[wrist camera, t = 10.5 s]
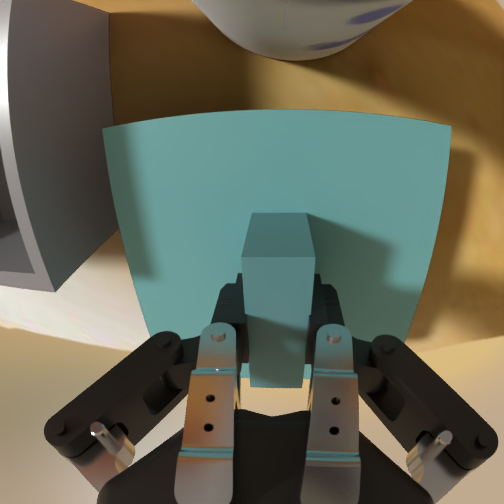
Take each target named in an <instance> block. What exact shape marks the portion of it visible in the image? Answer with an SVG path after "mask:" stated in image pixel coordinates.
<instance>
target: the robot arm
mask: <svg viewBox="0 0 504 504" xmlns="http://www.w3.org/2000/svg"><path fill="white" fill-rule="evenodd" d="M248 362H249V340H248V326H247V314H245V307H244V293H243V278H242V273H238V275H237V279H236V283H226V284H225V285H224V286H223V287H222V288H221V289H220V293H219V296H218V300H217V304H216V306H215V310H214V313H213V317H212V320H211V323H210V325H208V326H206V327H205V328H204V329H203V330H202V332H201V335H199V336H197V337H193V338H188V339H182V340H181V338H180V336H179V335H178V334H177V333H175V332H172V331H162V332H159V333H156V334H154V335H153V336H152V337H150V338H149V339H148V340H147V341H145V342H144V343H143V344H142V345H141V346H139V347H138V348H137V349H136V350H134V351H133V352H132V353H131V354H130V355H128V356H127V357H126V358H124V359H123V360H122V361H121V362H120V363H118V364H117V365H116V366H114V367H113V368H112V369H111V370H110V371H108V372H107V373H106V374H105V375H103V376H102V377H101V378H100V379H98V380H97V381H96V382H95V383H93V384H92V385H91V386H90V387H88V388H87V389H86V390H85V391H83V392H82V393H81V394H80V395H78V396H77V397H76V398H75V399H74V400H72V401H71V402H70V403H68V404H67V405H66V406H65V407H63V408H62V409H61V410H60V411H59V412H57V413H56V414H55V415H54V416H52V417H51V418H50V419H49V420H48V421H47V423H46V425H45V428H44V435H45V438H46V440H47V441H48V442H49V443H50V444H51V445H52V446H53V447H54V448H56V450H58V452H59V453H60V454H61V455H62V456H63V457H64V458H65V459H67V460H68V461H69V462H70V463H72V464H73V465H74V466H75V467H76V468H77V469H78V470H79V471H80V472H81V473H82V475H83V476H84V477H85V478H86V479H87V480H88V481H89V482H90V484H92V486H93V487H95V489H96V490H97V491H98V492H99V495H98V498H97V504H435V503H436V502H438V501H439V500H440V499H441V498H442V497H443V496H444V495H446V494H447V493H448V492H449V491H450V490H451V489H452V488H453V487H454V486H455V485H456V484H457V483H458V482H459V481H460V480H461V479H463V478H464V477H465V476H467V475H468V474H469V473H471V472H472V471H473V470H475V469H476V468H477V467H479V466H480V465H481V464H482V463H484V462H485V461H486V460H487V459H488V458H490V457H491V456H492V455H493V454H494V453H495V451H496V450H497V447H498V437H497V434H496V432H495V431H494V430H493V428H492V427H491V426H490V425H489V424H487V422H486V421H485V420H484V419H483V418H482V417H480V415H478V413H477V412H476V411H475V410H474V409H473V408H472V407H470V406H469V404H468V403H466V402H465V401H464V400H463V399H462V398H461V397H460V396H459V395H458V394H457V393H456V392H455V391H454V390H453V389H452V388H451V387H450V386H449V385H448V384H447V383H446V382H445V381H444V380H443V379H442V378H441V377H440V376H439V375H437V374H436V373H435V372H434V371H433V370H432V369H431V368H430V367H429V366H428V365H427V364H426V363H425V362H424V361H422V359H420V358H419V357H418V356H417V355H416V354H415V353H414V352H413V351H412V350H411V349H410V348H409V347H408V346H406V345H405V344H404V343H403V342H402V341H401V340H400V339H399V338H397V337H395V336H392V335H387V334H384V335H379V336H377V337H375V338H374V339H373V341H372V342H369V341H364V340H360V339H357V338H355V337H353V336H352V335H351V332H350V331H349V330H348V329H347V328H346V327H345V324H344V320H343V315H342V311H341V307H340V302H339V299H338V294H337V290H336V289H335V288H334V287H333V286H332V285H331V284H322V283H321V277H320V274H314V284H313V295H312V306H311V315H309V320H308V330H307V339H306V348H305V364H311V377H310V386H309V396H308V405H307V411H299V412H294V413H290V414H284V415H279V416H273V417H271V416H267V415H263V414H259V413H255V412H252V411H248V410H244V409H241V375H240V373H241V369H242V363H248ZM187 394H188V399H187V407H186V415H185V424H184V428H182V429H181V430H180V431H178V432H177V433H176V434H174V435H173V436H172V437H170V438H169V439H168V440H166V441H165V442H164V443H162V444H161V445H160V446H158V447H157V448H155V449H154V450H153V451H151V452H150V453H148V454H147V455H146V456H144V457H143V458H141V459H140V460H138V461H137V462H135V463H134V464H133V465H131V466H130V467H128V466H129V465H130V464H131V463H132V461H133V458H134V456H135V448H134V446H135V445H136V444H137V443H138V442H139V441H140V440H141V439H142V438H143V437H144V436H146V435H147V434H148V433H149V432H150V431H151V430H152V429H153V428H154V427H155V426H156V425H157V424H158V423H159V422H160V421H161V420H162V419H163V418H164V417H165V416H166V415H167V414H168V413H169V412H170V411H171V410H172V409H173V408H174V407H175V406H176V405H177V404H178V403H179V402H180V401H181V400H182V399H183V398H184V397H185V396H186V395H187ZM358 394H359V395H360V396H361V398H362V399H363V400H364V401H365V403H366V404H367V405H368V406H369V407H370V408H371V410H372V411H373V412H374V413H375V414H376V416H377V417H378V418H379V419H380V420H381V421H382V423H383V424H384V425H385V426H386V428H387V429H388V430H389V431H390V432H391V433H392V435H393V436H394V437H395V438H396V439H397V440H398V442H399V443H400V444H401V445H402V446H403V448H404V449H405V450H406V451H407V452H408V455H407V458H406V464H407V467H408V470H409V472H410V473H411V476H412V477H410V476H409V475H408V474H407V473H406V472H404V471H403V470H402V469H401V468H400V467H399V466H398V465H396V464H395V463H394V462H393V461H392V460H391V459H390V458H389V457H387V456H386V455H385V454H384V453H383V452H382V451H381V450H380V449H378V448H377V447H376V446H375V445H374V444H373V443H372V442H371V441H370V440H369V439H367V438H366V437H365V436H364V435H363V434H362V433H361V432H360V431H359V401H358Z"/></svg>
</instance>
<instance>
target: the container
mask: <svg viewBox="0 0 504 504" xmlns="http://www.w3.org/2000/svg"><path fill="white" fill-rule="evenodd" d="M191 1H192V2H193V3H194V4H195V5H196V6H197V7H198V8H199V9H200V10H201V11H202V12H203V13H204V14H205V15H206V16H207V17H208V18H209V19H210V21H211V22H212V23H213V24H214V25H215V26H216V27H217V28H218V29H219V30H220V31H221V32H222V33H223V34H224V35H225V36H226V37H227V38H228V39H230V40H231V41H233V42H234V43H235V44H237V45H239V46H240V47H242V48H244V49H246V50H248V51H251V52H253V53H256V54H259V55H262V56H265V57H269V58H274V59H280V60H293V61H300V60H311V59H318V58H322V57H326V56H329V55H332V54H335V53H337V52H339V51H341V50H343V49H345V48H347V47H348V46H350V45H351V44H353V43H354V42H355V41H356V40H358V39H359V38H360V37H362V36H363V35H364V34H366V33H367V32H369V31H370V30H371V29H373V28H374V27H375V26H377V25H378V24H380V23H381V22H382V21H384V20H385V19H387V18H388V17H389V16H391V15H392V14H394V13H395V12H397V11H398V10H400V9H401V8H403V7H404V6H406V5H407V4H409V3H410V2H412V1H413V0H191Z"/></svg>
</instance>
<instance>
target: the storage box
mask: <svg viewBox="0 0 504 504" xmlns="http://www.w3.org/2000/svg"><path fill="white" fill-rule="evenodd" d="M111 126H115V124H114V115H113V105H112V93H111V80H110V61H109V13H108V12H105V11H103V10H100V9H97V8H94V7H91V6H88V5H85V4H82V3H79V2H76V1H72V0H0V285H2V286H9V287H16V288H23V289H31V290H39V291H47V292H56V291H57V290H58V289H59V288H60V287H61V286H62V284H63V283H64V282H65V281H66V280H67V279H68V278H69V277H70V276H71V275H72V274H73V273H74V272H75V271H76V270H77V269H78V268H79V267H80V266H81V265H82V264H83V263H84V262H85V261H86V260H87V259H88V258H89V257H90V256H91V255H92V254H93V253H94V252H95V251H96V250H97V249H98V248H99V247H100V246H101V245H102V244H103V243H104V242H105V241H106V240H107V239H108V238H109V237H110V236H111V235H113V234H114V233H115V232H116V231H117V230H118V229H119V224H118V220H117V215H116V210H115V206H114V201H113V195H112V190H111V185H110V179H109V173H108V167H107V160H106V154H105V147H104V139H103V131H102V129H103V128H107V127H111Z"/></svg>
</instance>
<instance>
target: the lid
mask: <svg viewBox="0 0 504 504" xmlns="http://www.w3.org/2000/svg"><path fill="white" fill-rule="evenodd" d="M451 128H452V126H449V125H445V124H440V123H435V122H430V121H424V120H418V119H411V118H405V117H397V116H390V115H381V114H372V113H362V112H349V111H334V110H311V109H260V110H236V111H220V112H208V113H197V114H188V115H179V116H171V117H164V118H157V119H150V120H144V121H138V122H132V123H127V124H121V125H116V126H111V127H107V128H103V129H102V131H103V139H104V147H105V154H106V160H107V167H108V173H109V179H110V185H111V190H112V195H113V201H114V206H115V210H116V215H117V220H118V224H119V229H120V233H121V238H122V242H123V246H124V250H125V254H126V258H127V262H128V265H129V269H130V273H131V276H132V280H133V284H134V287H135V290H136V294H137V297H138V300H139V304H140V307H141V310H142V313H143V316H144V319H145V322H146V326H147V328H148V331H149V334H150V337H152V336H153V335H154V334H156V333H159V332H162V331H172V332H175V333H177V334H178V335H179V336H180V338H181V340H182V339H188V338H193V337H197V336H199V335H201V332H202V330H203V329H204V328H205V327H206V326H208V325H210V323H211V320H212V317H213V313H214V310H215V306H216V304H217V300H218V296H219V293H220V289H221V288H222V287H223V286H224V285H225V284H226V283H236V279H237V275H238V273H242V278H243V293H244V307H245V314H247V326H248V340H249V362H248V363H242V369H241V373H240V375H241V378H250V386H251V387H262V388H264V387H265V388H302V383H303V379H310V377H311V364H305V348H306V339H307V330H308V320H309V315H311V306H312V295H313V284H314V274H320V277H321V283H322V284H331V285H332V286H333V287H334V288H335V289H336V290H337V294H338V299H339V302H340V307H341V311H342V315H343V320H344V324H345V327H346V328H347V329H348V330H349V331H350V332H351V335H352V336H353V337H355V338H357V339H360V340H364V341H369V342H372V341H373V339H374V338H375V337H377V336H379V335H384V334H387V335H392V336H395V337H397V338H399V339H400V340H401V341H402V342H403V343H404V342H405V339H406V337H407V334H408V331H409V329H410V326H411V323H412V320H413V317H414V314H415V311H416V308H417V305H418V302H419V299H420V296H421V293H422V289H423V286H424V283H425V279H426V276H427V272H428V268H429V265H430V261H431V257H432V253H433V249H434V244H435V240H436V236H437V231H438V226H439V221H440V216H441V211H442V205H443V199H444V193H445V186H446V179H447V172H448V163H449V154H450V143H451Z"/></svg>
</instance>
